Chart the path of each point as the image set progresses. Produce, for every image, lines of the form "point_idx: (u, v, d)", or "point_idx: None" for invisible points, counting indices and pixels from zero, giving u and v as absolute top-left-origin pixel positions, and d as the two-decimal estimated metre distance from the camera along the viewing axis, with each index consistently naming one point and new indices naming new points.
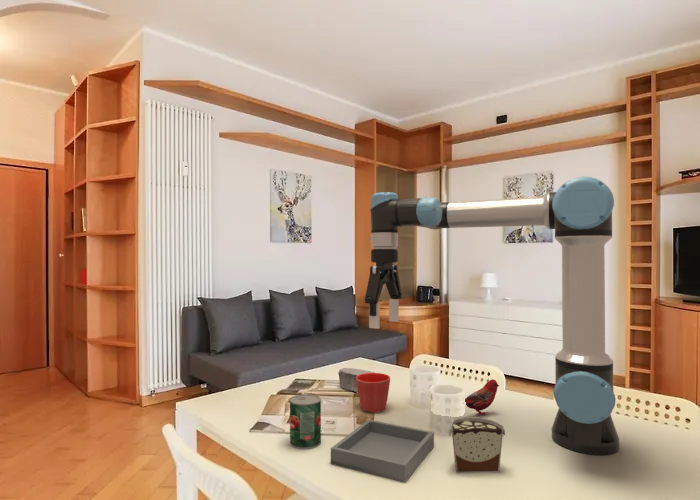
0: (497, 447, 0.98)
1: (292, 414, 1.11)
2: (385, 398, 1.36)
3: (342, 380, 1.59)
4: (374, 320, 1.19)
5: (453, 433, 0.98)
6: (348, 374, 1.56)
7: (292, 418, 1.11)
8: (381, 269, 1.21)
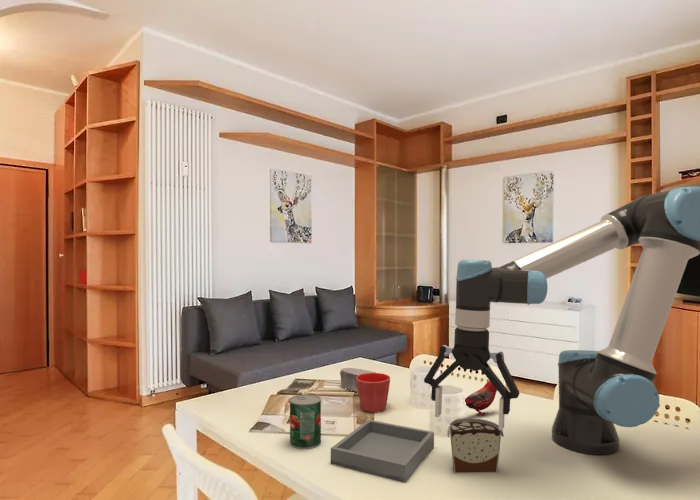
0: (495, 448, 0.98)
1: (292, 414, 1.11)
2: (385, 398, 1.36)
3: (343, 380, 1.60)
4: None
5: (451, 434, 0.98)
6: (349, 374, 1.57)
7: (292, 418, 1.11)
8: (452, 351, 1.02)
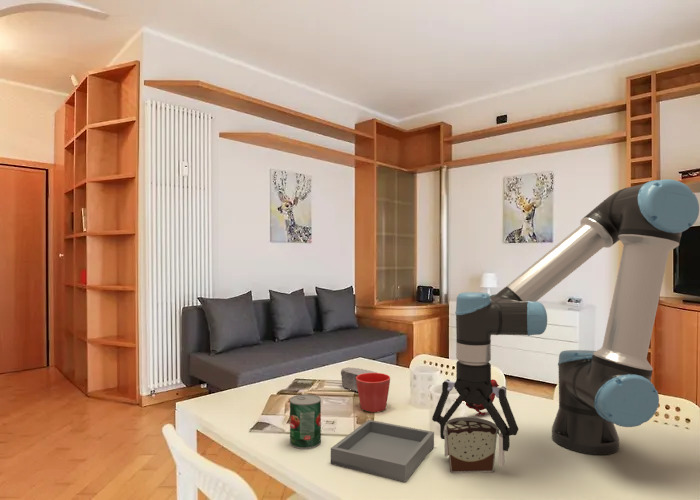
0: (491, 447, 0.98)
1: (292, 414, 1.11)
2: (385, 398, 1.36)
3: (344, 379, 1.60)
4: None
5: (447, 433, 0.98)
6: (350, 374, 1.57)
7: (292, 418, 1.11)
8: (454, 385, 1.02)
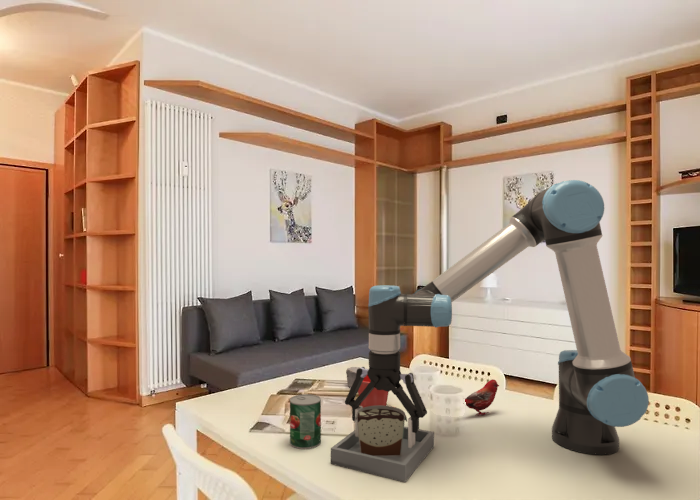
0: (399, 433, 1.04)
1: (292, 414, 1.11)
2: (385, 398, 1.36)
3: (349, 379, 1.61)
4: None
5: (357, 419, 1.04)
6: (354, 373, 1.58)
7: (292, 418, 1.11)
8: (367, 373, 1.08)
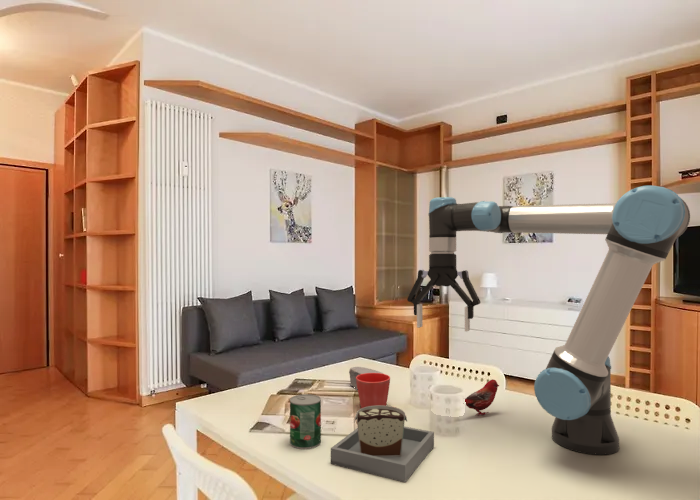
0: (399, 433, 1.04)
1: (292, 414, 1.11)
2: (385, 398, 1.36)
3: (352, 378, 1.61)
4: None
5: (357, 419, 1.04)
6: (356, 373, 1.58)
7: (292, 418, 1.11)
8: (427, 273, 1.27)
